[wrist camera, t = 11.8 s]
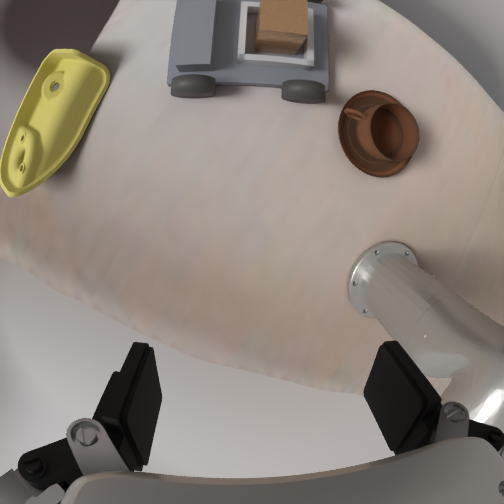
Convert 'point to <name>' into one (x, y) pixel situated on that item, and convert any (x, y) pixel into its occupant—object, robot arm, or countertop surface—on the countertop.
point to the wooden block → (281, 26)
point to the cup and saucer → (377, 133)
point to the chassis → (243, 52)
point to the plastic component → (51, 119)
